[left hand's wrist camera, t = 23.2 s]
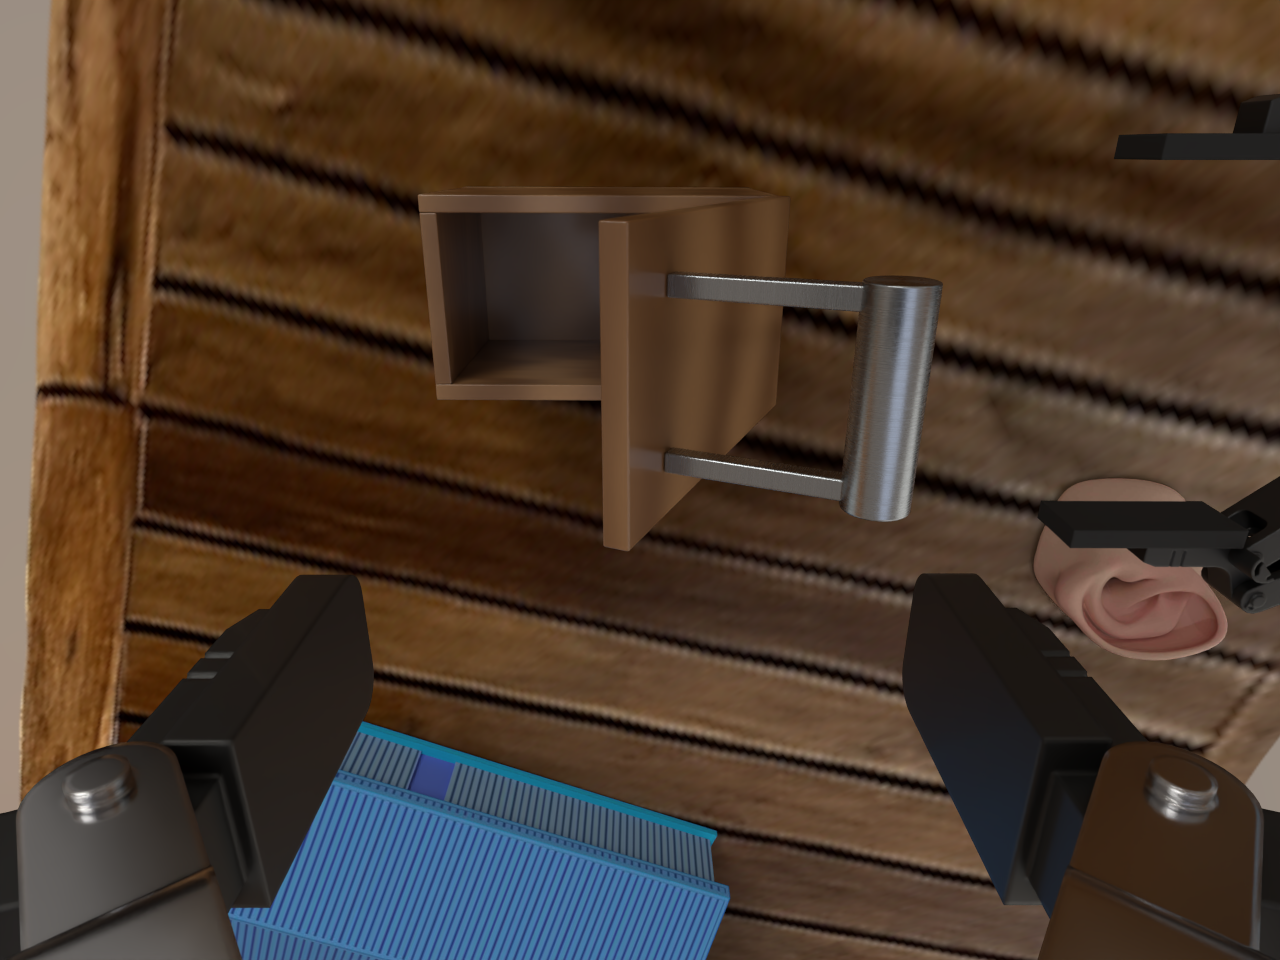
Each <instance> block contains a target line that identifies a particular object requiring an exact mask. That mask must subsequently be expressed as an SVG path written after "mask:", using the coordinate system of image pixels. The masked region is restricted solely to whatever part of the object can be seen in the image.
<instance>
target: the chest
mask: <svg viewBox="0 0 1280 960" xmlns="http://www.w3.org/2000/svg"><path fill="white" fill-rule="evenodd" d="M769 196H777V195H773V194H769V193H765V192H761V191H758V190H754V189H751V188H730V187H463V188H457V189H451V190H444V191H438V192H431V193H424V194H419V195H418V203H419V211H420V212H421V213H420V224H421V235H422V245H423V255H424V266H425V276H426V287H427V297H428V308H429V318H430V329H431V339H432V349H433V360H434V370H435V381H436V392H437V399H438V400H601V350H600V285H599V220H602V219H610V218H617V217H624V216H631V215H639V214H646V213H653V212H660V211H668V210H675V209H682V208H689V207H697V206H704V205H711V204H718V203H726V202H733V201H740V200H747V199H755V198H762V197H769Z"/></svg>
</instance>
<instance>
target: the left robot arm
mask: <svg viewBox="0 0 1280 960" xmlns="http://www.w3.org/2000/svg"><path fill="white" fill-rule="evenodd" d="M1069 653H1070V652H1069V651H1068V649H1067V648H1066V647H1065V646H1064V645H1063V644H1062V643H1061V641H1060V640H1059V639H1058V638H1057V637H1056V636H1055V635H1054V633H1053V632H1052V631H1051V630H1050V629H1049V628H1048V627H1046V626H1045V625H1043V624H1041V623H1040V622H1038V621H1037V620H1035V619H1033V618H1032V617H1030V616H1029V615H1027V614H1025V613H1024V612H1022V611H1021V610H1019V609H1017V608H1005V607H1004V606H1003V604H1002V603H1001V602H1000V601H999V599H998V598H997V597H996V596H995V595H994V593H993V592H992V591H991V590H990V588H989V587H988V586H987V585H986V584H985V582H984V581H983V580H982V579H981V578H980V577H979V576H978V575H977V574H921V575H920V576H919V577H918V579H917V581H916V584H915V588H914V593H913V600H912V607H911V613H910V620H909V627H908V634H907V640H906V647H905V654H904V661H903V671H902V680H903V690H904V696H905V700H906V704H907V707H908V710H909V712H910V714H911V716H912V718H913V720H914V722H915V724H916V726H917V728H918V730H919V732H920V734H921V737H922V739H923V741H924V743H925V745H926V747H927V749H928V751H929V753H930V755H931V757H932V759H933V761H934V763H935V765H936V767H937V769H938V771H939V773H940V775H941V777H942V779H943V782H944V784H945V786H946V788H947V790H948V792H949V794H950V796H951V798H952V800H953V802H954V804H955V806H956V808H957V810H958V812H959V814H960V816H961V818H962V820H963V822H964V824H965V827H966V829H967V831H968V833H969V835H970V837H971V839H972V841H973V843H974V845H975V847H976V849H977V851H978V853H979V855H980V857H981V859H982V861H983V863H984V865H985V867H986V869H987V872H988V874H989V876H990V878H991V880H992V882H993V884H994V886H995V888H996V890H997V892H998V894H999V896H1000V898H1001V900H1002V902H1003V904H1004V905H1043V907H1044V909H1045V911H1046V913H1047V914H1048V916H1049V918H1050V922H1049V925H1048V928H1047V931H1046V934H1045V938H1044V941H1043V944H1042V947H1041V950H1040V954H1039V957H1038V960H1280V812H1275V811H1271V810H1266V809H1262V808H1261V806H1260V803H1259V802H1258V800H1257V799H1256V797H1255V796H1254V795H1253V793H1252V792H1251V791H1250V790H1249V789H1248V788H1247V787H1246V786H1245V785H1244V784H1243V783H1242V782H1241V781H1240V780H1238V779H1237V778H1236V777H1235V776H1233V775H1232V774H1231V773H1229V772H1228V771H1226V770H1225V769H1223V768H1222V767H1220V766H1218V765H1217V764H1215V763H1213V762H1212V761H1209V760H1207V759H1205V758H1203V757H1201V756H1199V755H1197V754H1194V753H1192V752H1189V751H1187V750H1184V749H1180V748H1177V747H1174V746H1170V745H1166V744H1161V743H1154V742H1148V741H1147V740H1146V739H1145V738H1144V736H1143V735H1142V734H1141V733H1140V732H1139V731H1138V730H1137V728H1136V727H1135V726H1134V725H1133V724H1132V723H1131V722H1130V720H1129V719H1128V718H1127V717H1126V716H1125V715H1124V714H1123V712H1122V711H1121V710H1120V709H1119V708H1118V707H1117V706H1116V704H1115V703H1114V702H1113V701H1112V700H1111V699H1110V698H1109V696H1108V695H1107V694H1106V693H1105V692H1104V691H1103V690H1102V688H1101V687H1100V686H1099V685H1098V684H1097V683H1096V682H1095V680H1094V679H1093V678H1092V677H1087V671H1086V670H1085V669H1084V668H1083V667H1082V665H1081V664H1080V663H1079V662H1078V661H1077V660H1076V659H1075V657H1070V654H1069ZM187 674H188V676H187V679H182V680H181V681H180V682H179V684H178V685H177V686H176V687H175V688H174V689H173V690H172V692H171V693H170V694H169V695H168V696H167V697H166V698H165V699H164V701H163V702H162V703H161V704H160V705H159V706H158V707H157V709H156V710H155V711H154V712H153V713H152V714H151V715H150V716H149V718H148V719H147V720H146V721H145V722H144V723H143V724H142V726H141V727H140V728H139V729H138V730H137V731H136V732H135V733H134V735H133V736H132V737H131V738H130V739H129V740H128V741H127V742H126V743H119V744H114V745H110V746H106V747H103V748H100V749H96V750H93V751H91V752H88V753H86V754H83V755H81V756H79V757H77V758H75V759H73V760H71V761H68V762H67V763H65V764H63V765H62V766H60V767H58V768H57V769H55V770H54V771H52V772H51V773H49V774H48V775H47V776H45V777H44V778H43V779H42V780H40V781H39V782H38V783H37V784H36V785H35V786H34V787H33V788H32V789H31V790H30V791H29V792H28V793H27V794H26V796H25V797H24V799H23V800H22V802H21V803H20V806H19V808H18V810H14V811H10V812H6V813H1V814H0V960H242V957H241V954H240V950H239V947H238V944H237V941H236V938H235V934H234V931H233V928H232V925H231V922H230V919H229V915H228V913H229V911H230V909H231V908H270V907H271V905H272V903H273V901H274V899H275V897H276V895H277V893H278V891H279V889H280V887H281V885H282V883H283V881H284V879H285V877H286V875H287V873H288V871H289V869H290V867H291V865H292V863H293V861H294V859H295V857H296V855H297V853H298V851H299V849H300V847H301V845H302V843H303V841H304V839H305V837H306V835H307V833H308V831H309V829H310V827H311V825H312V822H313V820H314V818H315V816H316V814H317V812H318V810H319V808H320V806H321V804H322V802H323V800H324V798H325V796H326V794H327V792H328V790H329V788H330V786H331V784H332V782H333V780H334V778H335V776H336V774H337V772H338V770H339V768H340V766H341V764H342V762H343V760H344V758H345V756H346V754H347V752H348V750H349V748H350V746H351V744H352V742H353V740H354V738H355V736H356V734H357V732H358V730H359V728H360V725H361V723H362V721H363V719H364V717H365V715H366V713H367V711H368V708H369V705H370V702H371V697H372V692H373V681H374V672H373V662H372V655H371V649H370V642H369V635H368V629H367V622H366V616H365V609H364V602H363V596H362V590H361V586H360V583H359V581H358V579H357V577H355V576H354V575H299V576H297V577H296V578H295V579H294V580H293V582H292V583H291V584H290V585H289V586H288V588H287V589H286V590H285V591H284V592H283V594H282V595H281V596H280V597H279V599H278V600H277V601H276V602H275V603H274V605H273V606H272V607H271V608H270V609H259V610H257V611H255V612H254V613H252V614H251V615H249V616H247V617H246V618H244V619H242V620H241V621H239V622H238V623H236V624H234V625H233V626H231V627H230V628H228V629H226V630H225V631H224V633H223V634H222V635H221V636H220V637H219V638H218V639H217V641H216V642H215V643H214V644H213V645H212V646H211V647H210V648H209V650H208V651H207V652H206V653H205V658H201V659H200V660H199V661H198V662H197V663H196V664H195V665H194V667H193V668H192V669H191V670H190V671H189V672H188V673H187Z"/></svg>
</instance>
